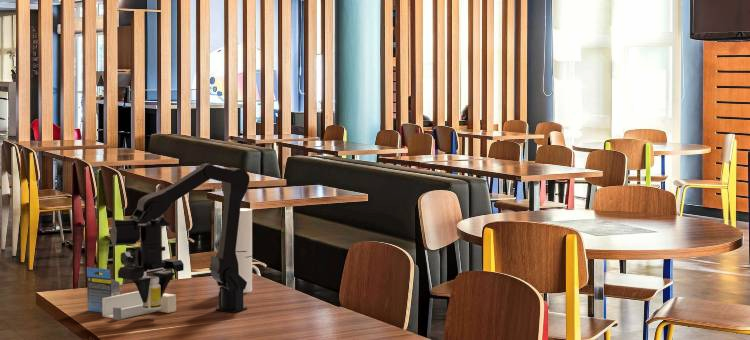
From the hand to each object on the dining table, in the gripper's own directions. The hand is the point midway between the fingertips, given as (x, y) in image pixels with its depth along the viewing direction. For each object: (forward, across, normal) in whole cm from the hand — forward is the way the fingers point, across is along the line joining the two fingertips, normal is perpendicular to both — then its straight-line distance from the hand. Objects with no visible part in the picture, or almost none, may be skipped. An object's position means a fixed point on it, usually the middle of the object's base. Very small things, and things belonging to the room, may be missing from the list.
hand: (151, 300), depth 283 cm
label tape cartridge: (+5, +2, -17) cm, 18 cm away
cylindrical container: (+5, -43, -8) cm, 44 cm away
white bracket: (+5, -2, -8) cm, 9 cm away
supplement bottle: (+2, 0, 0) cm, 2 cm away
